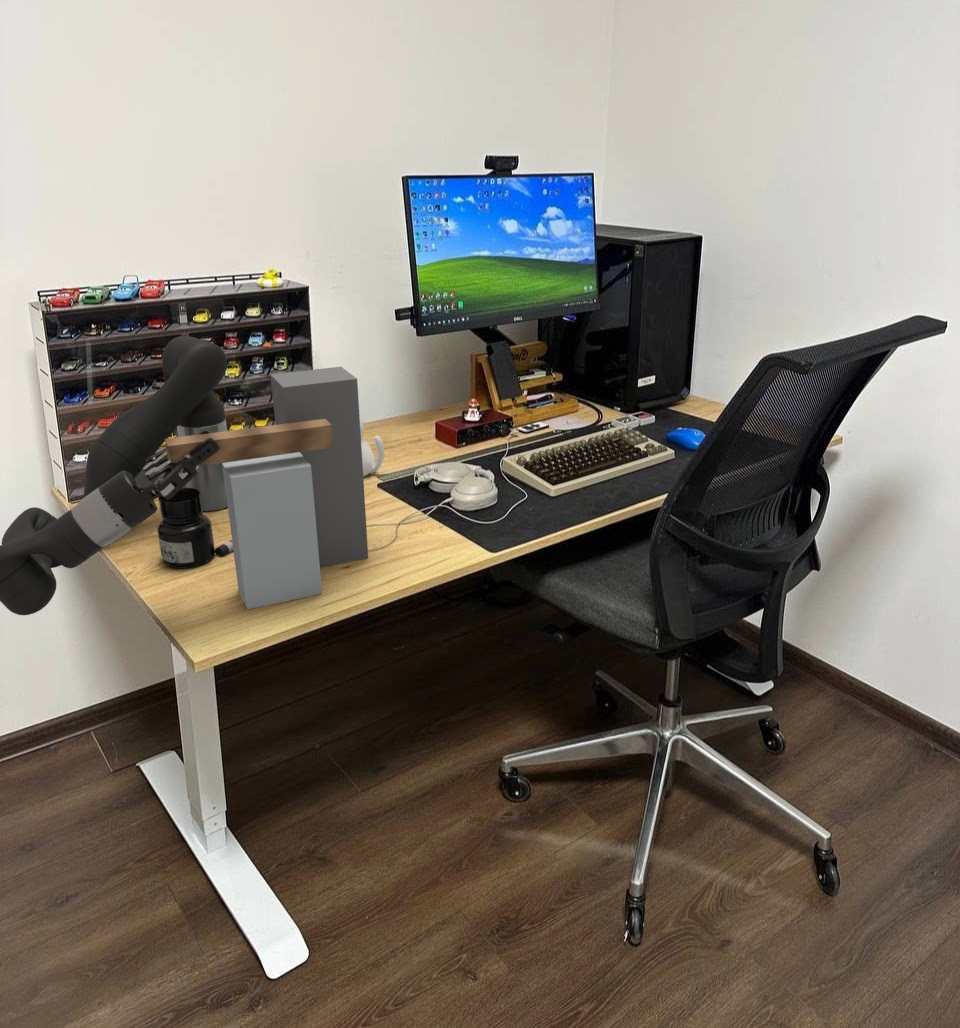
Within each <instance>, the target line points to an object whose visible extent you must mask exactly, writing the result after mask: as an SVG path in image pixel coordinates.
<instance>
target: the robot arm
mask: <svg viewBox="0 0 960 1028" xmlns="http://www.w3.org/2000/svg"><path fill="white" fill-rule="evenodd" d="M161 358H162V359H161V365H162V374H163V379H164V383H163V384H162V385H161V386H160V388H159V389H158V390H156V391H155V392H154V393H153V394H152V395H151V396H149V397H147V398H146V399H145V400H143V401H141V402H140V403H138V404H137V405H135V406H132V407H131V408H130V409H128V410H127V411H125V412H124V413H122V414H121V415H119V416H117V418H115V419H114V420H113V421H112V422H111V423H110V424H109V425H108V426H107V427H106V428H105V430H104V431H102V433H101V434H100V435H99V437H98V438H97V439H96V440H95V441H94V442H93V443H92V445H90V448H89V450H88V453H87V458H86V466H85V478H84V479H85V480H84V487H83V488H84V489H83V497H82V499H81V500H80V501H79V502H78V503H76V505H75V506H73V507H72V508H71V509H70V510H68V511H66V512H65V513H64V514H62V515H61V516H59V517H58V518H57V517H55V516H54V515H52V514H51V513H50V512H48V511H47V510H44V509H42V508H40V507H37V506H35V507H29V508H27V509H25V510H23V512H21V513H20V514H19V515H18V516H17V517H16V518H15V519H14V520H13V522H12V523H10V525H9V526H8V528H7V529H6V530H5V532H4V534H3V536H2V538H1V545H0V603H1V604H2V605H3V606H4V607H5V608H6V609H7V610H8V611H10V613H13V614H15V615H18V616H29V615H34V614H36V613H37V612H39V611H41V610H42V609H44V608H45V607H46V606H47V605H48V604H49V603H50V601H52V599H53V598H54V595H55V593H56V591H57V579H56V577H55V575H54V574H55V573H54V572H53V570H52V568H53V569H55V568H58V567H60V566H63V567H64V568H67V569H73V568H76V567H77V568H78V566H79V565H81V564H83V563H84V562H86V561H87V560H88V559H90V558H91V557H92V556H94V555H95V554H97V553H98V552H100V551H101V550H102V549H104V548H105V547H107V546H109V545H110V544H112V543H114V542H116V541H118V540H119V539H121V538H122V537H124V536H125V535H127V534H128V533H129V532H131V531H132V530H133V529H135V528H136V527H137V526H139V525H140V524H141V523H143V522H144V521H146V520H147V519H148V518H150V517H151V516H153V515H154V514H155V513H157V511H158V507H157V504H156V503H155V501H154V500H156V499H159V497H160V496H161V495H162V496H163V497H164V498H165V499H166V500H169V499H171V498H172V497H173V496H174V495H175V494H176V493H177V492H178V491H179V490H181V489H182V488H194V489H197V490H199V491H200V493H201V500H202V507H203V508H202V509H203V512H208V511H209V512H212V511H219V510H222V509H225V508H228V504H227V496H226V488H225V481H224V473H223V465H222V463H217V464H210V465H203V466H199V464H201V463H202V462H203V461H205V460H206V459H208V458H209V457H210V456H212V455H213V454H214V453H216V452H217V451H218V450H219V446H218V445H217V444H216V442H215V441H214V440H213V439H212V438H207V439H206V440H205V441H203V442H202V443H201V444H199V445H198V446H196V447H195V448H194V449H192V450H191V451H189V452H190V453H191V454H189V453H186V454H184V455H183V456H181V457H180V458H178V459H177V460H174V459H172V460H168V459H167V458H168V457H167V452H166V447H165V448H163V449H160V448H161V446H162V445H163V444H164V443H165V439H167V438H170V436H171V435H172V434H173V432H174V431H175V430H177V437H183V436H191V435H200V434H208V433H215V432H223V431H228V428H227V419H226V412H225V407H224V404H223V403H222V402H221V401H220V400H219V398H218V397H217V396H216V394H215V392H214V389H215V388H217V386H218V385H219V384H220V383H221V382H222V379H223V378H224V377H225V373H226V371H227V366H228V365H227V364H228V363H227V362H228V361H227V356H226V353H225V351H224V350H223V349H222V348H221V347H220V346H219V345H217V344H215V343H214V342H211V341H208V340H204V339H200V338H198V337H195V336H194V337H193V336H189V335H180V336H177V337H174V338H173V339H171V340H170V341H169V342H168V343H167V344H166V345H165V347H164V350H163V352H162V357H161ZM159 449H160V450H159ZM158 450H159V451H158ZM157 451H158V452H157ZM225 463H228V462H225ZM171 468H172V469H173V470H172V469H171Z"/></svg>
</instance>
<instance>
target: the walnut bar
mask: <svg viewBox="0 0 960 1028" xmlns="http://www.w3.org/2000/svg"><path fill="white" fill-rule="evenodd" d="M207 438H212V439H213V440H214V441H215V442H216V444H217V445H218V446H219V450H218V451H217V452H216V453H214V454H213V455H212V456H210V457H209V458H208V459H206V460H205V461H203V462H202V463H201V464H199V466H203V465H210V464H217V463H225V462H235V461H242V460H248V459H255V458H262V457H269V456H276V455H282V454H290V453H297V452H304V451H311V450H319V449H326V448H333V436H332V425H331V424H330V423H329V422H328V421H327V420H326V419H320V420H311V421H303V422H295V423H287V424H279V425H275V424H273V425H265V426H256V427H251V428H249V427H248V428H241V429H240V428H239V429H233V430H227V431H223V432H215V433H208V434H200V435H191V436H183V437H178V436H176V437H168V438H167V439H165V442H164V443H165V448H166V452H167V457H168V458H167V459H168V460H172V459H174V460H177V459H178V458H180V457H181V456H183V455H184V454H186V453H189V454H191V453H190V452H189V451H191V450H192V449H194V448H195V447H196V446H198V445H199V444H201V443H202V442H203V441H205V440H206V439H207ZM171 469H172V468H171ZM172 470H173V469H172Z"/></svg>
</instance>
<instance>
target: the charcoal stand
mask: <svg viewBox="0 0 960 1028" xmlns="http://www.w3.org/2000/svg"><path fill="white" fill-rule="evenodd" d="M270 384H271V393H272V394H271V395H272V402H273V403H272V404H273V412H274V413H273V414H274V425H279V424H287V423H295V422H303V421H311V420H320V419H326V420H327V421H328V422H329V423H330V424H331V425H332V436H333V448H326V449H319V450H311V451H304V452H300V453H301V454H302V456H303V457H304V458H305V459H306V460H307V462H308V463H309V464H310V465H311V471H312V483H313V495H314V506H315V518H316V529H317V541H318V552H319V564H320V568H321V567H322V568H323V567H326V566H328V567H329V566H333V565H337V564H342V563H346V562H352V561H359V560H362V559H367V558H369V550H368V548H369V547H368V532H367V531H368V530H367V518H366V517H367V515H366V503H365V502H366V501H365V500H366V499H365V498H366V497H365V485H364V484H365V483H364V481H365V480H364V477H363V464H362V448H361V438H362V437H361V432H360V416H361V415H360V403H359V387H358V378H357V377H356V376H354V375H353V374H352V373H350V372H349V371H348V370H347V369H345V368H343V367H342V366H334V367H333V366H332V367H326V368H316V369H308V370H298V371H289V372H288V371H287V372H281V373H271V374H270ZM359 415H360V416H359ZM282 455H283V454H282Z"/></svg>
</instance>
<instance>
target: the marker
mask: <svg viewBox="0 0 960 1028" xmlns="http://www.w3.org/2000/svg"><path fill="white" fill-rule="evenodd" d="M232 552H234V551H233V543H232V538H231V539H229V540H227V541H226V542H224V543H222V544H221V545H219V546H217V547H216V548H215V556H217V557H222V558H223V557H225V556H226V555H229V554H230V553H232Z"/></svg>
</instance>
